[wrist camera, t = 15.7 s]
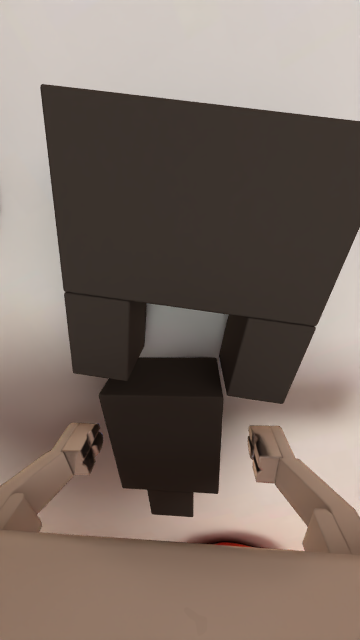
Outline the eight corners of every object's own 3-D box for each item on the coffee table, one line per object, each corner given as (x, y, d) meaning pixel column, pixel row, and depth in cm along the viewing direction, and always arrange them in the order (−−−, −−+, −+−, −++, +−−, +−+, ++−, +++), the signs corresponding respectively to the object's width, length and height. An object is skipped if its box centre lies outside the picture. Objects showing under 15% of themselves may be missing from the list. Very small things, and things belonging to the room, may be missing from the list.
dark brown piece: (121, 357, 12) (97, 395, 9) (216, 357, 11) (223, 397, 8) (140, 463, 15) (128, 513, 12) (212, 466, 15) (217, 519, 12)
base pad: (261, 362, 11) (283, 404, 8) (102, 340, 11) (72, 373, 8) (328, 165, 7) (406, 124, 5) (94, 137, 8) (37, 81, 5)
